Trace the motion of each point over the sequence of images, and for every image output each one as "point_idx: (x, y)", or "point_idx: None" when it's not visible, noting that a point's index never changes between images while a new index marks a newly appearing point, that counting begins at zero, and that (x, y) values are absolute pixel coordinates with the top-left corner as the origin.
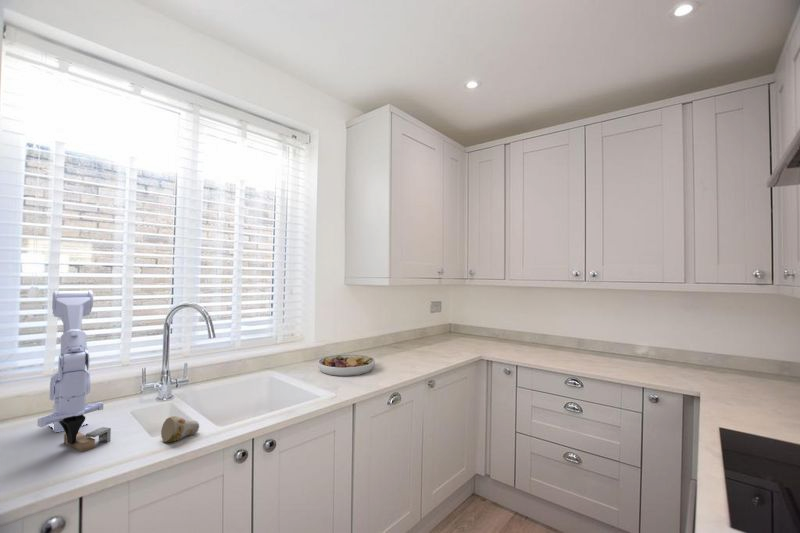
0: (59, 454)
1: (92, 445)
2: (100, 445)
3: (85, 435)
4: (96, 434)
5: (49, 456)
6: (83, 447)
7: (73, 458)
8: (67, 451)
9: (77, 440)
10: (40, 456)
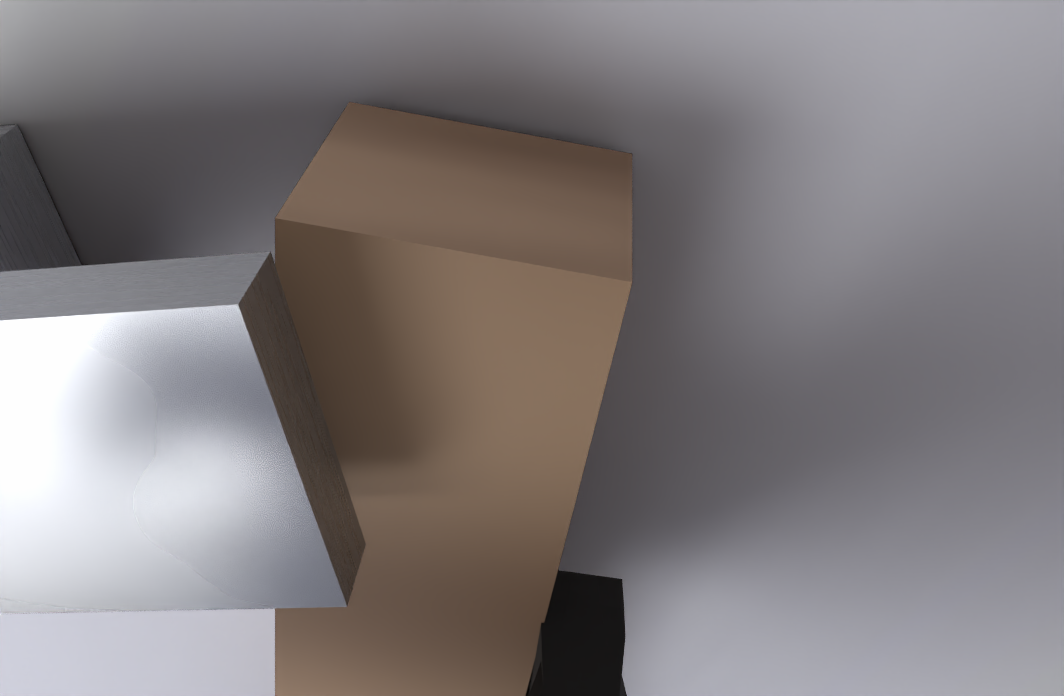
0: (825, 509)
1: (392, 146)
2: (186, 134)
3: (282, 640)
4: (173, 296)
5: (932, 582)
6: (616, 209)
7: (967, 32)
8: (680, 496)
9: (549, 567)
10: (950, 690)
